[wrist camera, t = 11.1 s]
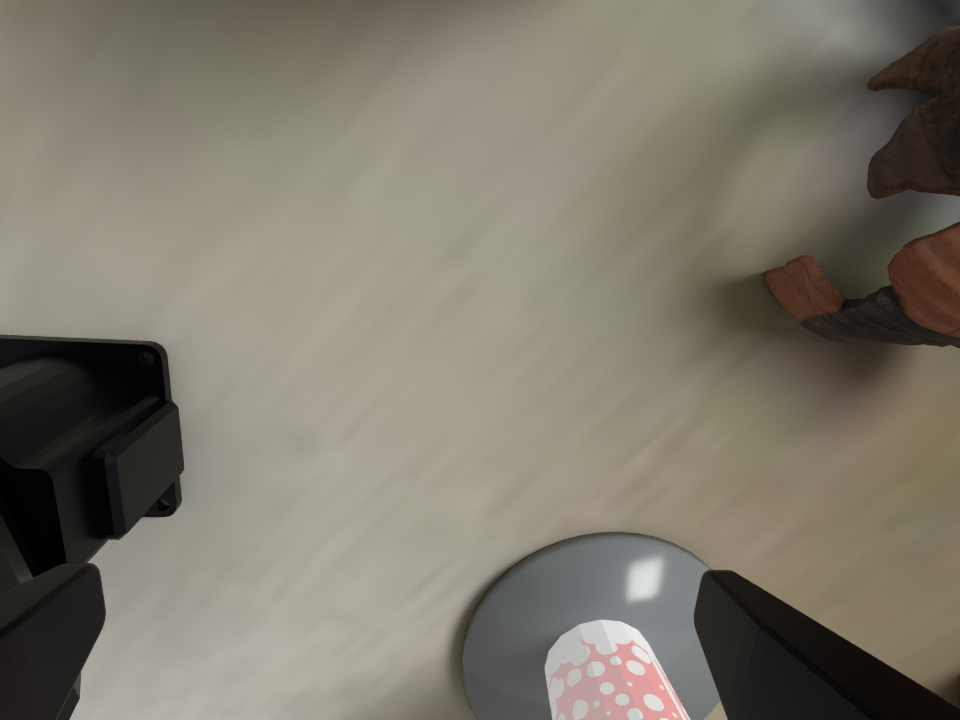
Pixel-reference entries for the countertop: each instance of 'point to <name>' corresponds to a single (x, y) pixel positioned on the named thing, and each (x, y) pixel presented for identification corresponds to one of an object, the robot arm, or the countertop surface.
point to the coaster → (585, 620)
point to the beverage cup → (608, 676)
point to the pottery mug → (923, 261)
